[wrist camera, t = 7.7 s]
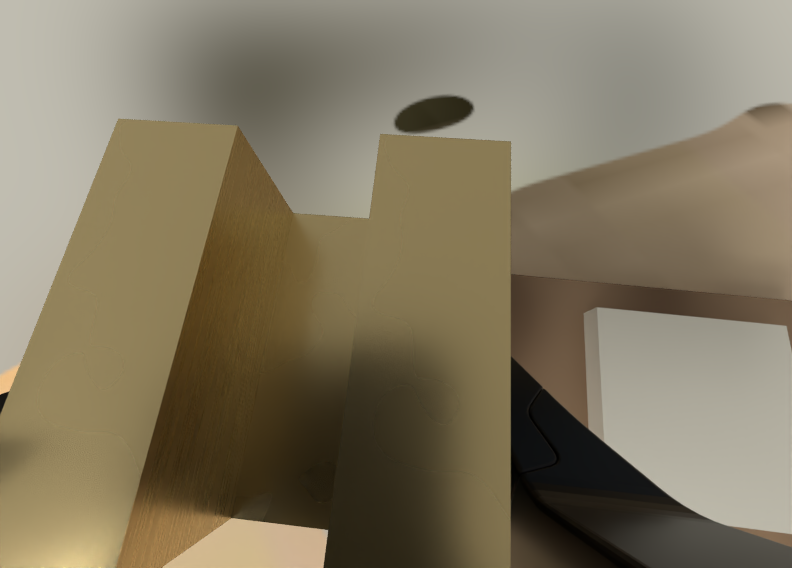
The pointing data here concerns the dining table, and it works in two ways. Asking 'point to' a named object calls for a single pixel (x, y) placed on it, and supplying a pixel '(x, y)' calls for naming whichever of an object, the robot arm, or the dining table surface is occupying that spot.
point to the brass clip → (269, 362)
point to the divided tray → (673, 387)
